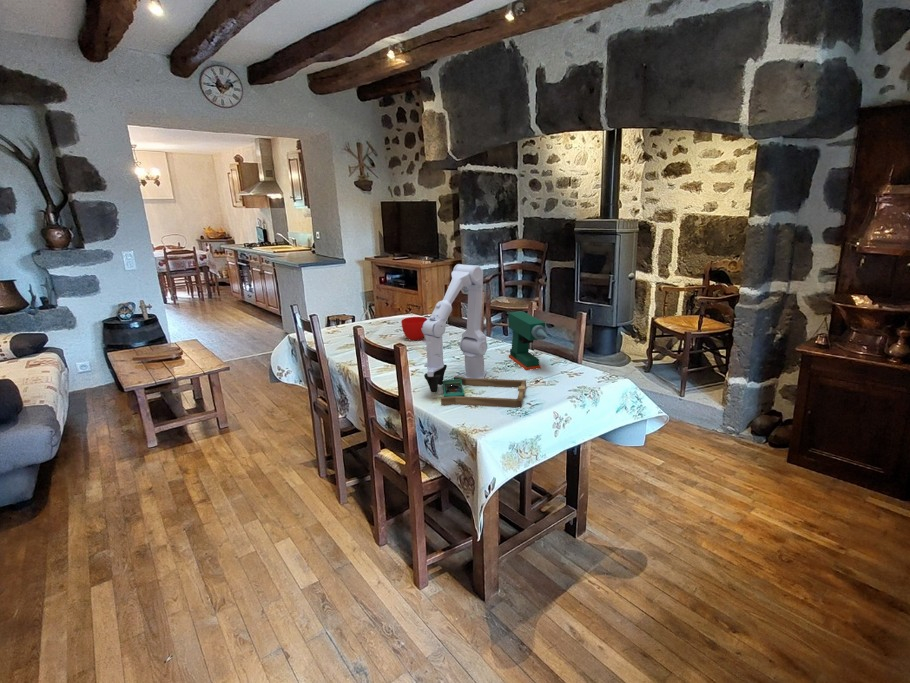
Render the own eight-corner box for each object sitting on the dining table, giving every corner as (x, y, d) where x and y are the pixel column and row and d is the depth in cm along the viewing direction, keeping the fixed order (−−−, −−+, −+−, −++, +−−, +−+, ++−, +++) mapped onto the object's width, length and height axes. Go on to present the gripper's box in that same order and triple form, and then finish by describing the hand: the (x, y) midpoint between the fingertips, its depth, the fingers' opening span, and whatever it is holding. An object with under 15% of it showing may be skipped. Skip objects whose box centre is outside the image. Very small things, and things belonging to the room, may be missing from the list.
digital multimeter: (444, 402, 172) (443, 394, 171) (442, 386, 186) (442, 379, 185) (465, 401, 172) (464, 393, 171) (462, 385, 186) (461, 378, 185)
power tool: (557, 379, 187) (558, 328, 181) (540, 381, 185) (541, 330, 179) (523, 355, 216) (523, 310, 211) (508, 357, 214) (507, 312, 209)
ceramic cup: (418, 345, 237) (417, 325, 234) (397, 339, 249) (396, 320, 246) (438, 339, 245) (437, 320, 242) (417, 334, 257) (416, 315, 255)
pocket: (454, 382, 189) (454, 373, 188) (527, 385, 182) (527, 376, 182) (440, 405, 168) (439, 396, 167) (522, 409, 162) (522, 400, 161)
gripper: (429, 346, 183) (431, 380, 187) (418, 359, 169) (420, 395, 173) (448, 347, 181) (449, 381, 185) (437, 359, 168) (439, 396, 171)
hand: (436, 388), depth 179 cm, fingers open, 7 cm apart
